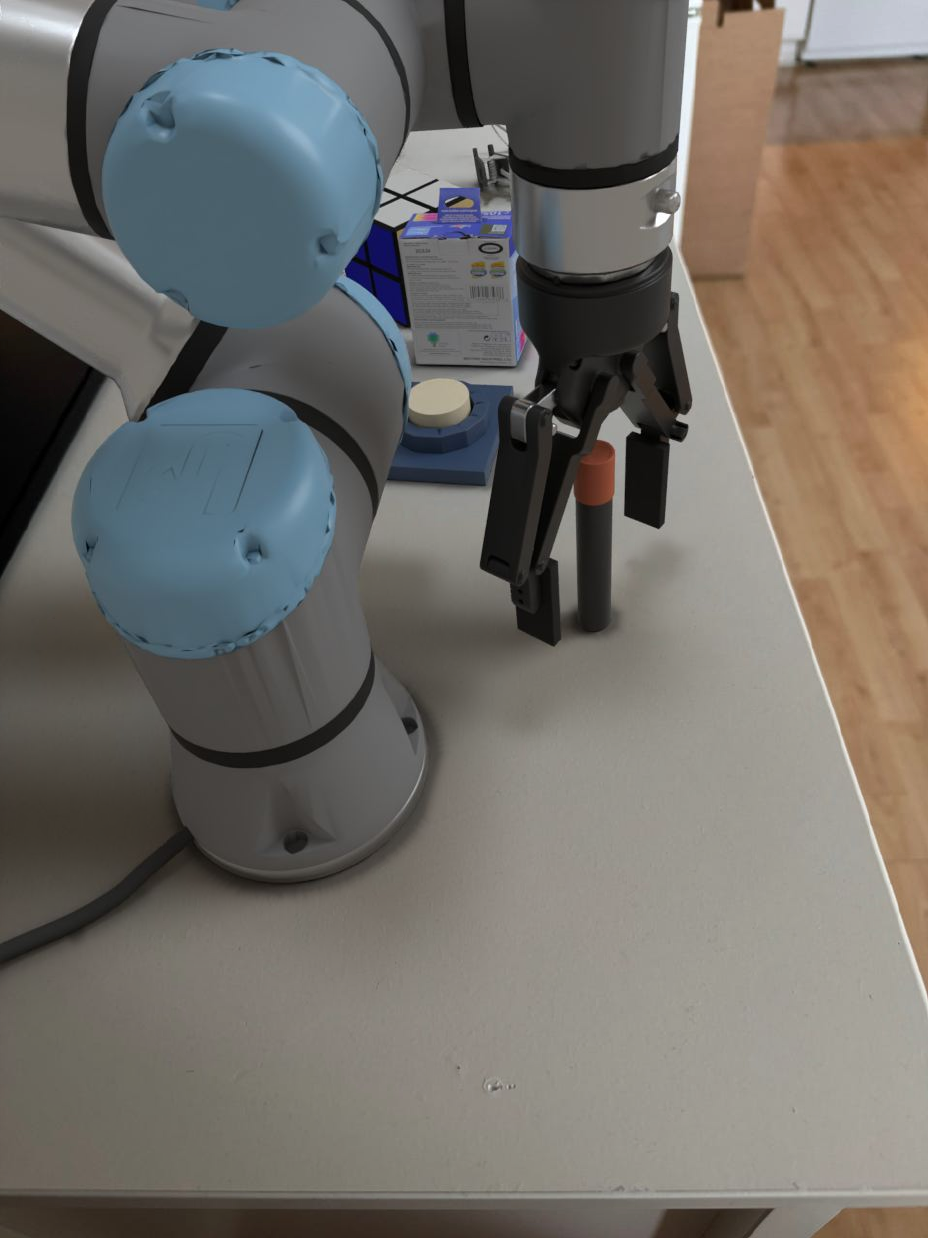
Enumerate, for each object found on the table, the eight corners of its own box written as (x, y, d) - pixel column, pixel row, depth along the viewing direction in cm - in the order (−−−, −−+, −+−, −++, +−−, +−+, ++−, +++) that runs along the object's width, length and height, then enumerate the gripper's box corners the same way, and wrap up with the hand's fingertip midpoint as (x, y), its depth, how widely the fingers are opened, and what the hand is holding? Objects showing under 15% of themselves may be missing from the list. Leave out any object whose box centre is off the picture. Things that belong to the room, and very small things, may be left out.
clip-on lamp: (482, 174, 124) (476, 201, 109) (473, 121, 120) (466, 141, 106) (572, 156, 122) (579, 181, 107) (566, 101, 119) (572, 119, 104)
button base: (486, 485, 75) (482, 455, 73) (366, 478, 77) (359, 448, 75) (514, 398, 83) (512, 368, 81) (404, 394, 85) (399, 364, 83)
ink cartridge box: (529, 336, 90) (520, 180, 79) (520, 368, 86) (509, 209, 76) (428, 334, 92) (406, 182, 81) (415, 366, 88) (390, 211, 78)
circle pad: (462, 432, 76) (460, 415, 75) (400, 428, 77) (397, 412, 76) (476, 395, 79) (475, 379, 78) (417, 392, 81) (414, 376, 80)
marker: (599, 638, 63) (600, 469, 53) (569, 623, 64) (564, 456, 54) (618, 615, 64) (623, 446, 54) (588, 602, 65) (587, 434, 55)
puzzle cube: (348, 298, 99) (329, 201, 91) (422, 260, 103) (409, 165, 95) (409, 329, 93) (393, 229, 86) (484, 289, 97) (475, 190, 90)
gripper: (509, 395, 38) (535, 725, 53) (779, 165, 50) (735, 490, 65) (369, 346, 41) (432, 669, 57) (652, 143, 53) (640, 456, 69)
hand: (594, 574), depth 61 cm, fingers open, 12 cm apart
